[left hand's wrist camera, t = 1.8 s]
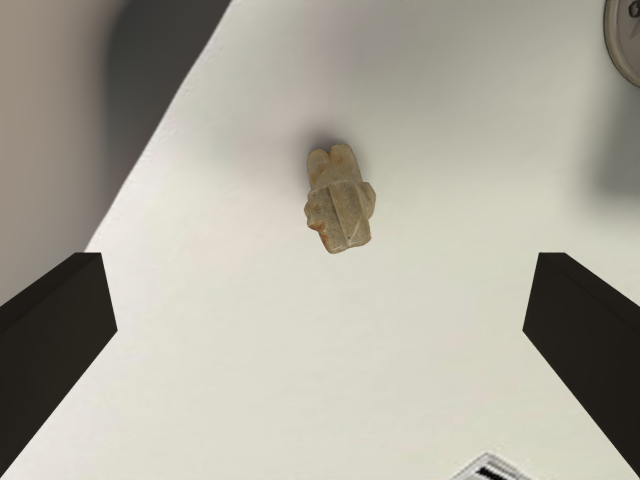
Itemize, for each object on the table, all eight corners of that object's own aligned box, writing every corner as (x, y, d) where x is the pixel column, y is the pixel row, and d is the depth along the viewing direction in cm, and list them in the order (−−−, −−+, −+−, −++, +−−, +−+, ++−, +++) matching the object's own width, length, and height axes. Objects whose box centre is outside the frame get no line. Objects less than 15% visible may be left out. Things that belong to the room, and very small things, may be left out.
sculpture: (357, 136, 40) (377, 169, 26) (371, 206, 43) (396, 269, 29) (298, 150, 40) (288, 190, 26) (316, 218, 43) (314, 286, 29)
